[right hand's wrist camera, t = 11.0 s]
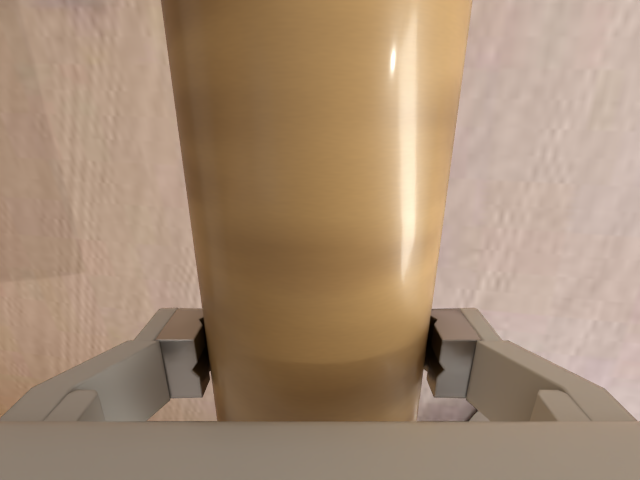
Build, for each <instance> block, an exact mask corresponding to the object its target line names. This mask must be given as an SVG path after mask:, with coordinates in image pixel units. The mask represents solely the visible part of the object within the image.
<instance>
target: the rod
mask: <svg viewBox="0 0 640 480" xmlns="http://www.w3.org/2000/svg"><path fill="white" fill-rule="evenodd" d="M161 4H162V12H163V19H164V27H165V34H166V41H167V49H168V56H169V64H170V71H171V79H172V86H173V94H174V101H175V109H176V116H177V123H178V131H179V138H180V146H181V153H182V161H183V168H184V176H185V183H186V191H187V198H188V205H189V213H190V220H191V228H192V235H193V243H194V250H195V258H196V265H197V272H198V280H199V287H200V295H201V302H202V310H203V317H204V325H205V332H206V340H207V347H208V354H209V362H210V369H211V377H212V384H213V392H214V399H215V407H216V414H217V421H417V414H418V407H419V399H420V392H421V384H422V377H423V369H424V362H425V354H426V347H427V339H428V331H429V324H430V316H431V309H432V301H433V294H434V286H435V279H436V271H437V264H438V256H439V249H440V241H441V234H442V226H443V219H444V211H445V203H446V196H447V188H448V181H449V173H450V166H451V158H452V151H453V143H454V136H455V128H456V121H457V113H458V106H459V98H460V90H461V83H462V75H463V68H464V60H465V53H466V45H467V38H468V30H469V23H470V15H471V8H472V0H161Z"/></svg>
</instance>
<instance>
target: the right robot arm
mask: <svg viewBox="0 0 640 480" xmlns="http://www.w3.org/2000/svg"><path fill="white" fill-rule="evenodd" d="M424 369H425V370H426V371H427V372H428V373H427V381H428V384H429V386H430V389H431V391H432V393H433V396H434V397H437V398H466V400H467V401H468V402H469V403H470V404H471V405H473V406H474V407H475V408H476V409H477V410H478V411H477V412H476V413H475V414H474V415H473V417H472V418H471V419H470V420H469V421H147V420H148V419H149V418H150V417H151V416H152V415H154V414H155V413H156V412H157V411H158V410H159V409H160V408H162V407H163V406H164V405H165V404H166V403H167V402H169V401H170V398H198V397H203V395H204V392H205V390H206V387H207V385H208V383H209V380H210V376H209V371H211V369H210V362H209V354H208V347H207V340H206V332H205V325H204V317H203V310H202V309H199V308H162V309H159V310H158V311H157V312H156V313H155V315H154V316H153V317H152V318H151V320H150V321H149V322H148V323H147V325H146V326H145V327H144V328H143V329H142V331H141V332H140V333H139V334H138V336H137V337H136V338H135V339H134V340H133V341H126V342H124V343H122V344H120V345H118V346H116V347H114V348H112V349H110V350H108V351H106V352H104V353H102V354H100V355H98V356H96V357H94V358H92V359H89V360H87V361H85V362H83V363H81V364H79V365H77V366H75V367H73V368H71V369H69V370H67V371H65V372H63V373H61V374H59V375H57V376H55V377H53V378H51V379H49V380H47V381H45V382H43V383H41V384H39V385H37V386H35V387H33V388H31V389H30V390H29V391H28V392H27V393H26V394H25V395H24V396H23V397H22V398H20V399H19V400H18V401H17V402H16V403H15V404H14V405H13V406H12V407H11V408H10V409H9V410H8V411H7V412H6V413H5V414H4V415H3V416H2V417H1V418H0V480H640V421H637V420H636V419H635V418H634V417H633V416H632V415H631V414H630V413H629V412H628V411H627V410H626V409H625V408H624V407H623V406H622V405H621V404H620V403H619V402H618V401H617V400H616V399H615V398H614V397H613V396H612V395H611V394H610V393H609V392H608V391H607V390H606V389H604V388H602V387H600V386H598V385H596V384H594V383H592V382H590V381H588V380H586V379H584V378H582V377H580V376H578V375H576V374H574V373H572V372H570V371H568V370H566V369H564V368H562V367H560V366H558V365H556V364H554V363H552V362H550V361H548V360H546V359H544V358H542V357H540V356H538V355H536V354H534V353H532V352H530V351H528V350H526V349H524V348H522V347H520V346H518V345H516V344H514V343H512V342H510V341H503V340H502V339H501V338H500V337H499V335H498V334H497V333H496V332H495V330H494V329H493V328H492V327H491V325H490V324H489V323H488V322H487V320H486V319H485V318H484V317H483V315H482V314H481V313H480V312H479V310H478V309H476V308H453V309H431V316H430V324H429V331H428V339H427V347H426V354H425V362H424Z"/></svg>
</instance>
